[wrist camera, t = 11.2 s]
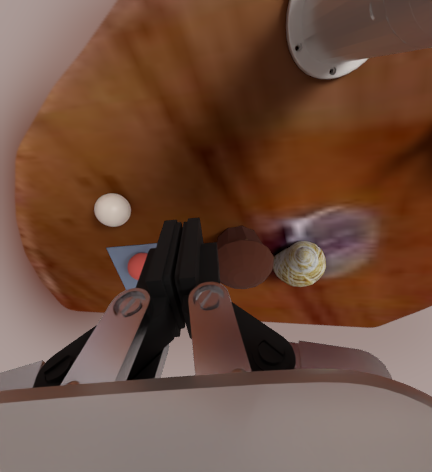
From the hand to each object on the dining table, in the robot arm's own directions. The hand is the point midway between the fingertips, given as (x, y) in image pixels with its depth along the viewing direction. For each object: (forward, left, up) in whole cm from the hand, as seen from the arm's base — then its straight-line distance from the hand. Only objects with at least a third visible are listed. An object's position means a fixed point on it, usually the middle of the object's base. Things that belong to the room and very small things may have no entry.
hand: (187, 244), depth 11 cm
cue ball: (+9, -16, -24) cm, 31 cm away
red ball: (+23, -15, -24) cm, 36 cm away
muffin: (+21, +5, -27) cm, 35 cm away
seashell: (+25, +17, -28) cm, 41 cm away
